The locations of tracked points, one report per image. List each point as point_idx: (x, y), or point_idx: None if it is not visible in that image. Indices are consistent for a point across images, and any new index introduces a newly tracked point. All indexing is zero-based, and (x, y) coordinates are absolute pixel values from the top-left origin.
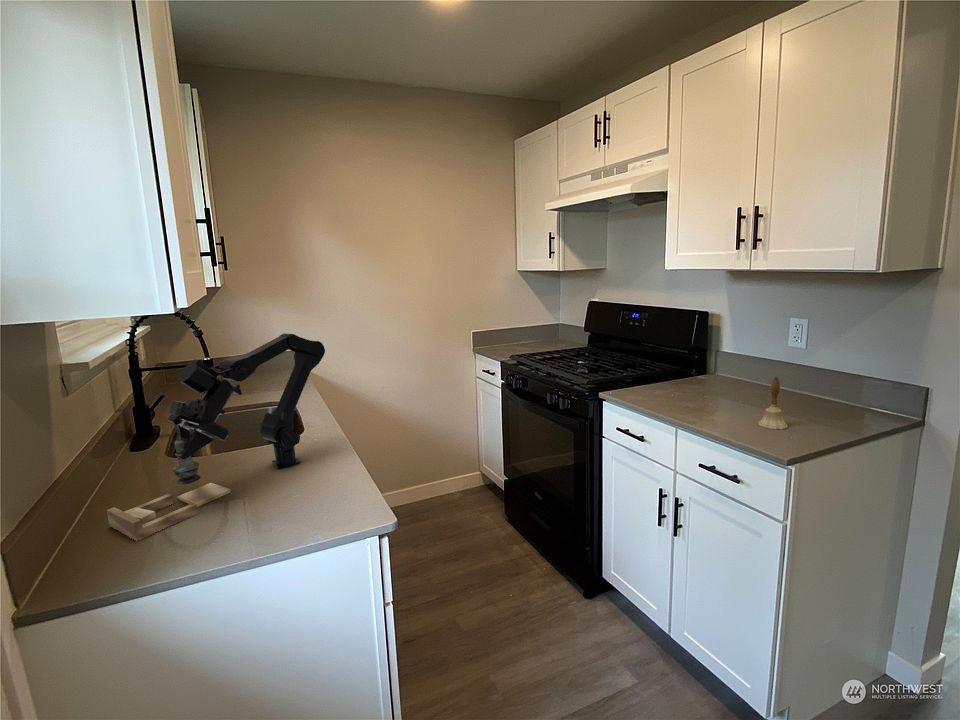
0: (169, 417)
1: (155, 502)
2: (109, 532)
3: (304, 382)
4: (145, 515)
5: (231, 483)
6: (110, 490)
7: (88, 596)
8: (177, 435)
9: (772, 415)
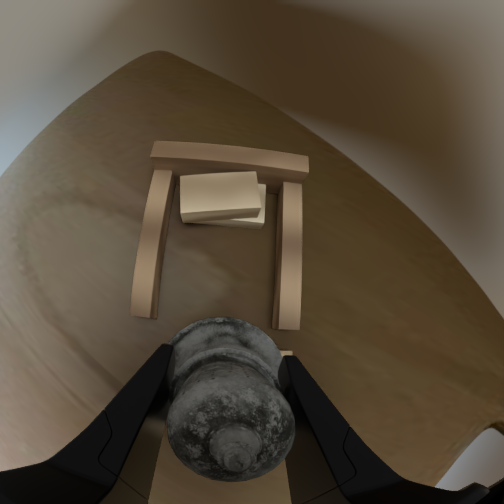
0: None
1: (280, 275)
2: None
3: None
4: (184, 188)
5: None
6: (466, 289)
7: (100, 82)
8: (377, 466)
9: None
